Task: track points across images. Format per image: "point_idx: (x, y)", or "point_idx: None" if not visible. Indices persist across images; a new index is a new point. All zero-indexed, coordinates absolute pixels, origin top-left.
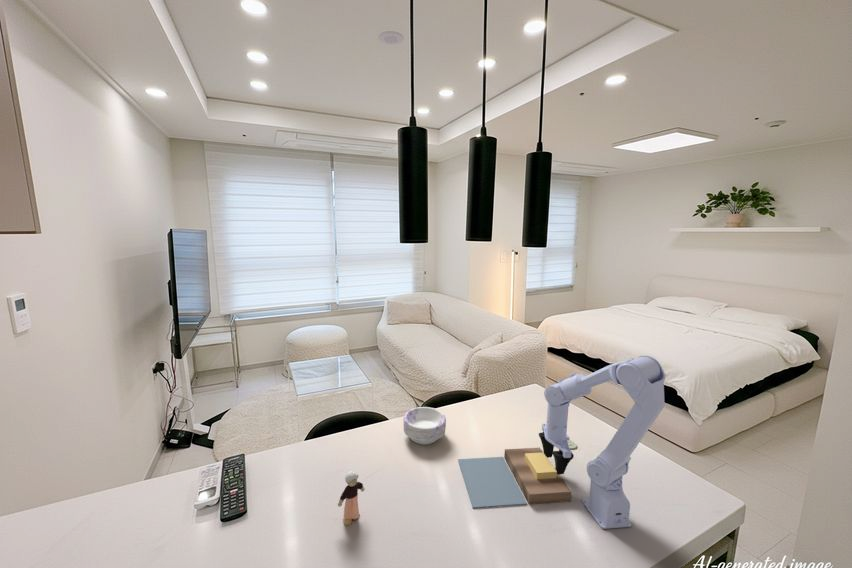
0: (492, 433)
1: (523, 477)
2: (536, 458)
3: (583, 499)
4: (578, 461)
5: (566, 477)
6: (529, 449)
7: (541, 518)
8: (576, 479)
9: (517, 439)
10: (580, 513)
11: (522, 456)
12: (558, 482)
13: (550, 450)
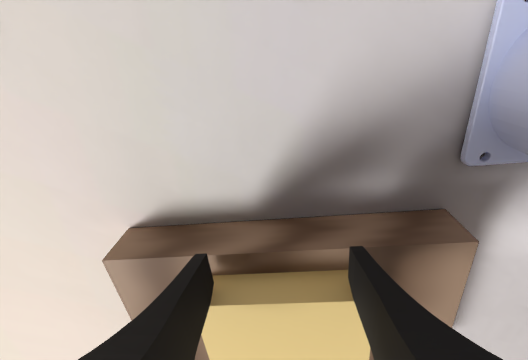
0: (23, 340)
1: None
2: (252, 346)
3: (469, 157)
4: (124, 19)
5: (285, 162)
6: (136, 306)
7: (483, 321)
8: (302, 115)
9: (24, 275)
10: (521, 197)
11: (200, 342)
12: (397, 272)
13: (193, 298)
